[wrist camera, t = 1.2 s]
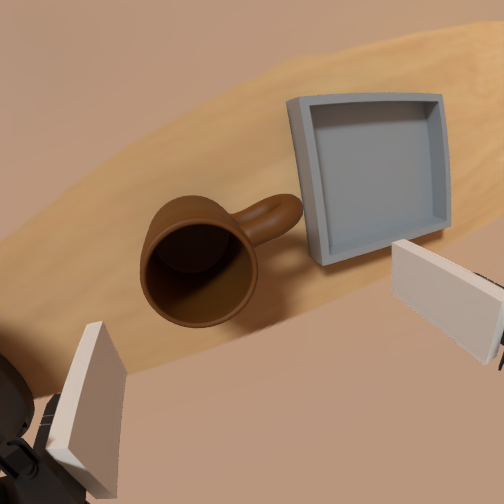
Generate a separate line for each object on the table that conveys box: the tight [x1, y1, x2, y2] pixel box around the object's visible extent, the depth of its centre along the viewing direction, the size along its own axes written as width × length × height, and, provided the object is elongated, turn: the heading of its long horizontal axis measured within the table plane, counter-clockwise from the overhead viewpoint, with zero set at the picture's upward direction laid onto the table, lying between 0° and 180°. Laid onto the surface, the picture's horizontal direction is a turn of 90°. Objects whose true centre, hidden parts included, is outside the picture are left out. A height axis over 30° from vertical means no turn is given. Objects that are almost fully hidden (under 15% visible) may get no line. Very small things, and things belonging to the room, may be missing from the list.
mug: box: [140, 194, 303, 328], centre depth 24 cm, size 12×8×9 cm, turn 119°
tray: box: [286, 93, 451, 266], centre depth 29 cm, size 17×15×3 cm
